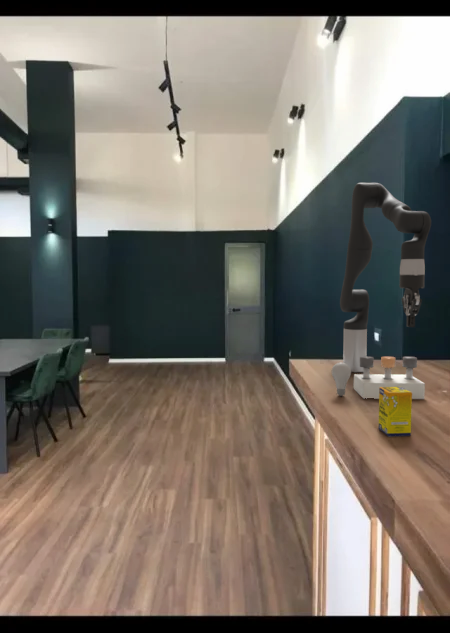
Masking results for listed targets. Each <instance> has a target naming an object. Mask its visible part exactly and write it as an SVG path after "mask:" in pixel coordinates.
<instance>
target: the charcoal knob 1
mask: <svg viewBox="0 0 450 633" xmlns="http://www.w3.org/2000/svg"><path fill="white" fill-rule="evenodd" d="M374 362H375V358H374V356H367V355H366V356H362V357H360V367H363V372H362V374H363V379H369V375H370V370H371V368H374Z"/></svg>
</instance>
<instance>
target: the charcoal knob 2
mask: <svg viewBox="0 0 450 633" xmlns="http://www.w3.org/2000/svg"><path fill="white" fill-rule="evenodd" d="M417 367H418V358H417V357H415V356H403V357H402V368H406V372H405V375H406V380H413V377H414V376H413V375H414V373H413V372H414V370H413V369H416V368H417Z"/></svg>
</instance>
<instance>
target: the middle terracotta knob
mask: <svg viewBox="0 0 450 633" xmlns="http://www.w3.org/2000/svg"><path fill="white" fill-rule="evenodd" d="M380 358H381V359H380V367H381V368H384V374H385V380H391V374H392V368H396V356H395V357H394V356H381V357H380Z"/></svg>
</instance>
